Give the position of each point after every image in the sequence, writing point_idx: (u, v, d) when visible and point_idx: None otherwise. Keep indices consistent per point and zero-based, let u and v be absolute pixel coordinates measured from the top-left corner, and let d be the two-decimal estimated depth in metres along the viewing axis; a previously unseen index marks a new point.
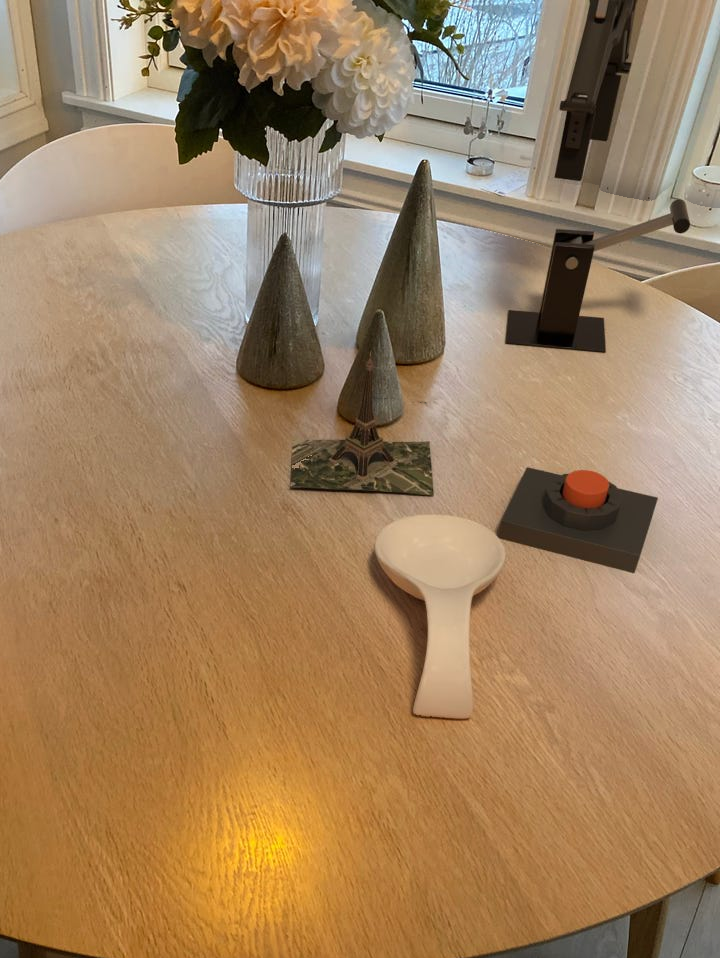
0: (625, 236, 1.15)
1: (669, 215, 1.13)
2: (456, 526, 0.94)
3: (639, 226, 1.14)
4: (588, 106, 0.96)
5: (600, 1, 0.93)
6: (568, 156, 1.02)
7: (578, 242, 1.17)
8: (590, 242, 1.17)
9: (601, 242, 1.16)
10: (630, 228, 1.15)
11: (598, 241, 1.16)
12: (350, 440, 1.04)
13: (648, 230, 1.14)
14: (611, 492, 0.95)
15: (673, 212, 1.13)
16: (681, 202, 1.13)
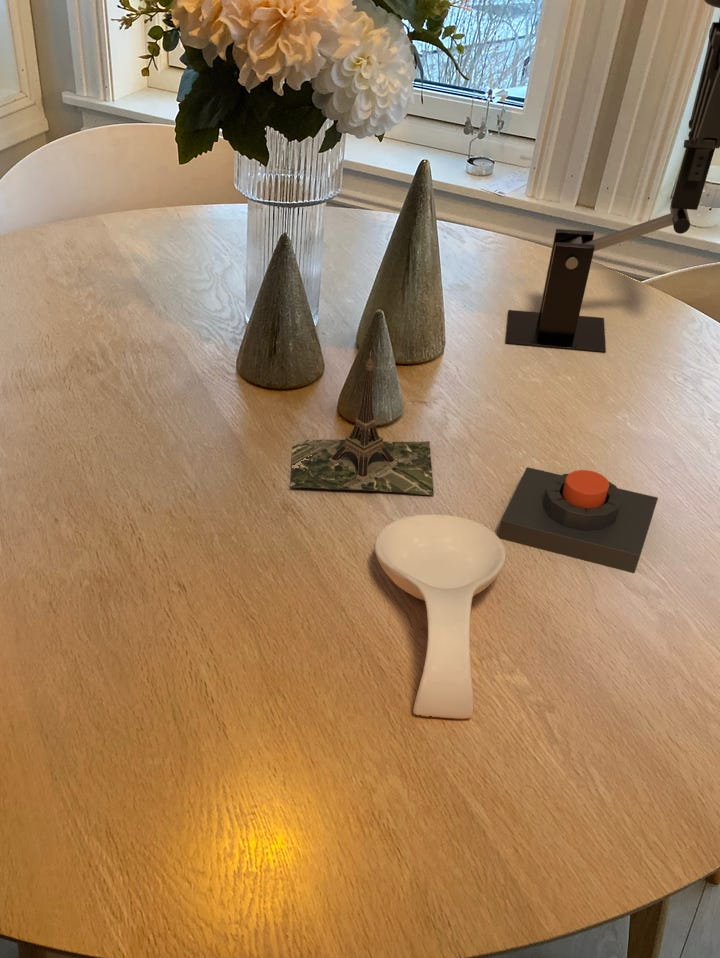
0: (625, 236, 1.15)
1: (669, 215, 1.13)
2: (456, 526, 0.94)
3: (639, 226, 1.14)
4: (717, 146, 1.04)
5: None
6: (686, 188, 1.10)
7: (578, 242, 1.17)
8: (590, 242, 1.17)
9: (601, 242, 1.16)
10: (630, 228, 1.15)
11: (598, 241, 1.16)
12: (350, 440, 1.04)
13: (648, 230, 1.14)
14: (611, 492, 0.95)
15: (673, 212, 1.13)
16: None
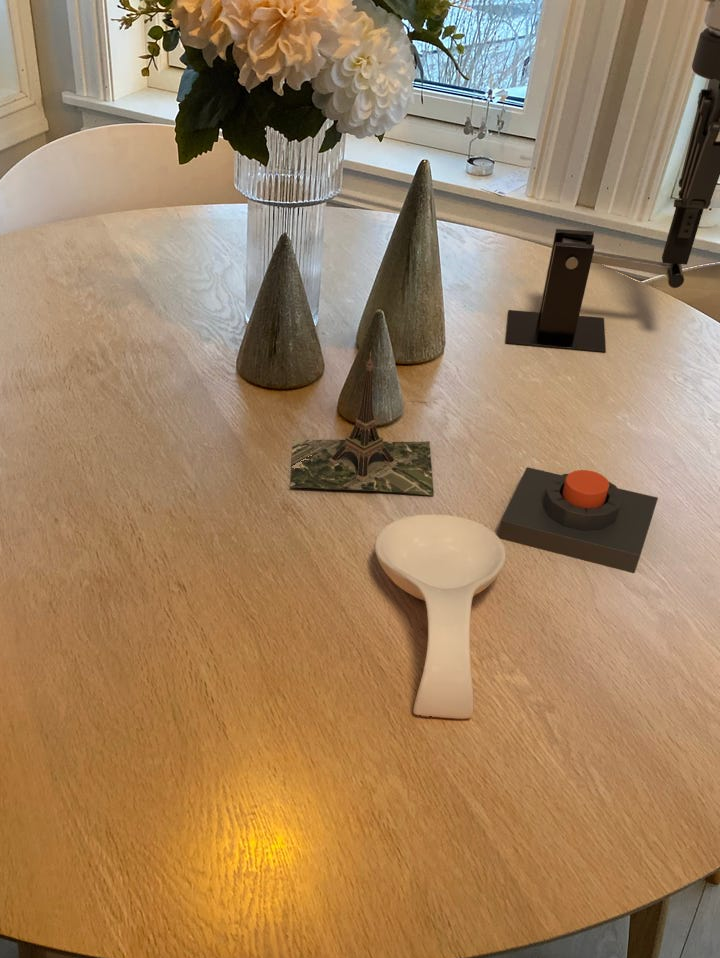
0: (623, 263, 1.17)
1: (667, 265, 1.17)
2: (456, 526, 0.94)
3: (639, 261, 1.17)
4: (706, 207, 1.08)
5: None
6: (676, 244, 1.14)
7: None
8: None
9: (601, 257, 1.17)
10: (630, 258, 1.17)
11: (600, 255, 1.17)
12: (350, 440, 1.04)
13: (644, 269, 1.17)
14: (611, 492, 0.95)
15: (671, 264, 1.17)
16: None
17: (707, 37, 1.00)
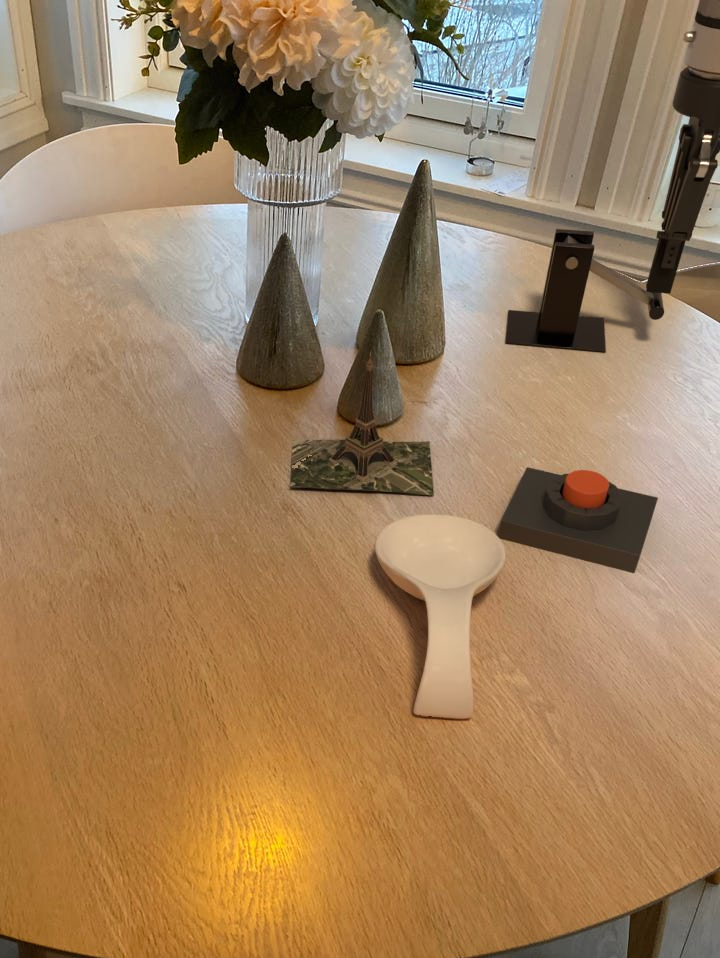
0: (614, 280, 1.19)
1: (651, 295, 1.19)
2: (456, 526, 0.94)
3: (628, 283, 1.19)
4: (688, 239, 1.11)
5: (700, 170, 1.04)
6: (660, 274, 1.17)
7: None
8: None
9: (597, 267, 1.18)
10: (621, 277, 1.19)
11: (596, 265, 1.18)
12: (350, 440, 1.04)
13: (630, 291, 1.19)
14: (611, 492, 0.95)
15: (654, 295, 1.19)
16: None
17: (686, 76, 1.02)
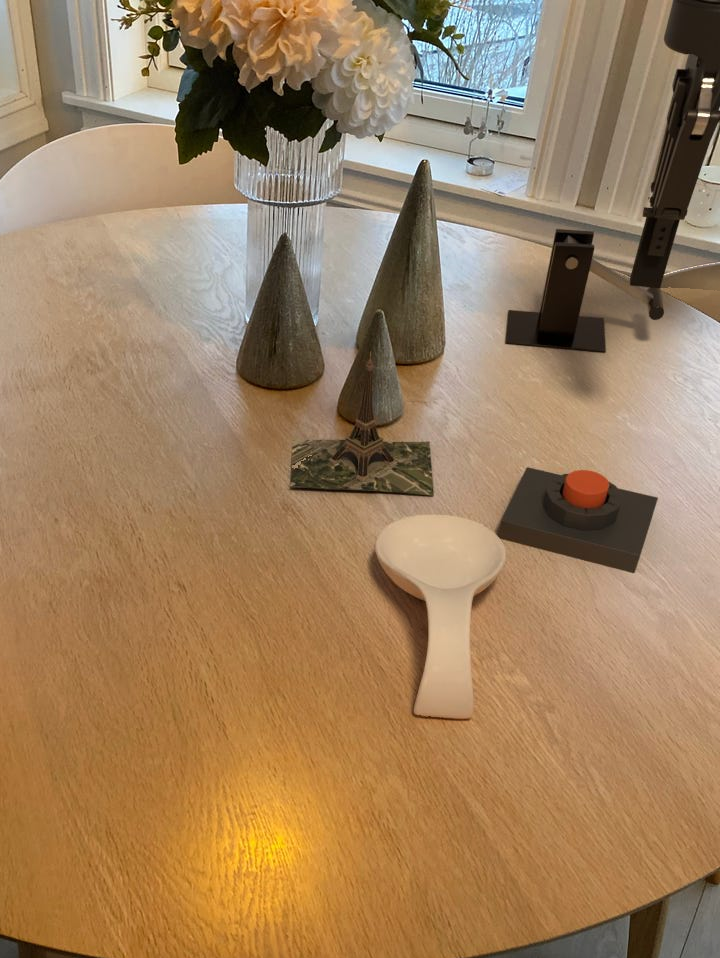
0: (614, 280, 1.19)
1: (650, 295, 1.19)
2: (457, 526, 0.94)
3: (628, 283, 1.19)
4: (682, 218, 0.86)
5: (697, 124, 0.79)
6: (647, 263, 0.92)
7: None
8: None
9: (597, 267, 1.18)
10: (621, 277, 1.19)
11: (596, 265, 1.18)
12: (350, 440, 1.04)
13: (630, 291, 1.19)
14: (611, 492, 0.95)
15: (654, 295, 1.19)
16: (660, 292, 1.21)
17: None
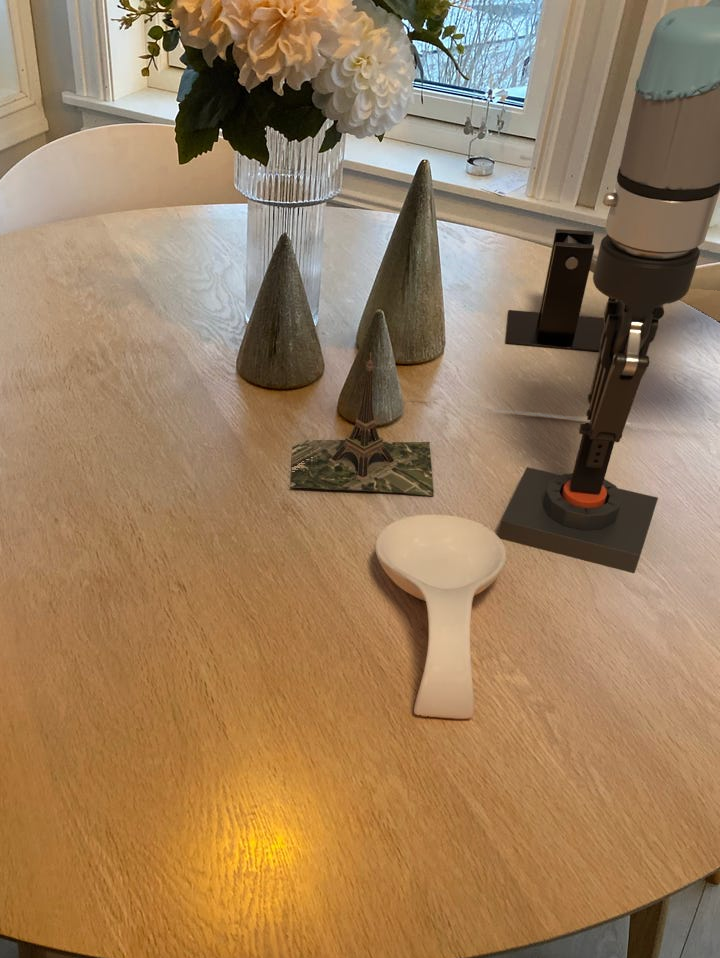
0: None
1: None
2: (457, 526, 0.94)
3: None
4: (617, 441, 0.87)
5: (626, 369, 0.79)
6: (586, 472, 0.93)
7: None
8: None
9: None
10: None
11: None
12: (350, 440, 1.04)
13: None
14: (611, 492, 0.95)
15: None
16: None
17: (608, 249, 0.78)
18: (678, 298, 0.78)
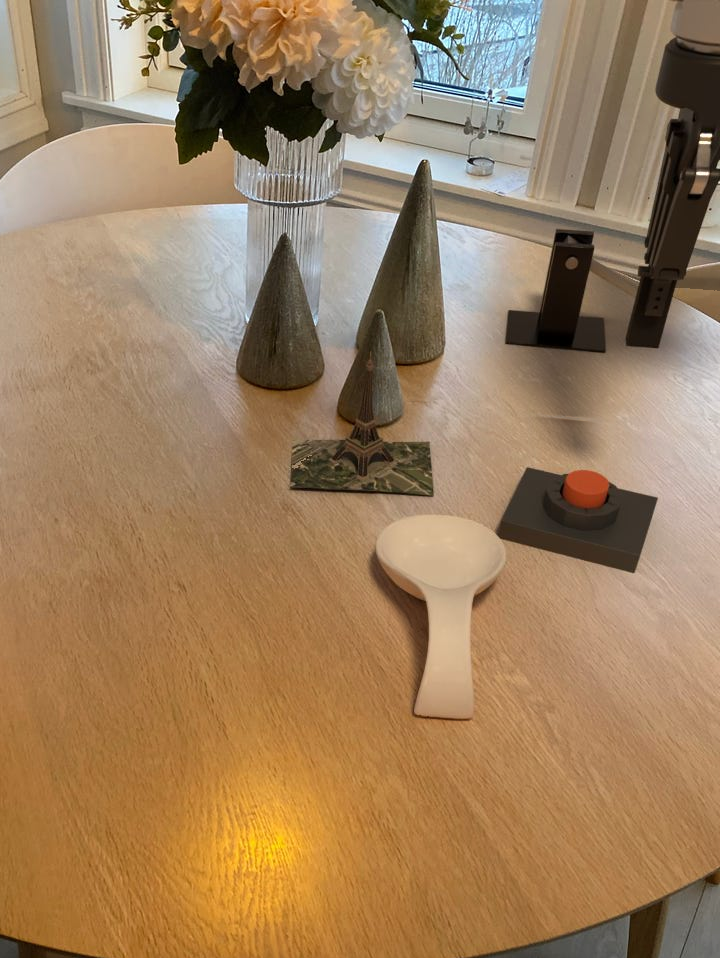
0: (614, 280, 1.19)
1: None
2: (457, 526, 0.94)
3: (628, 283, 1.19)
4: (681, 278, 0.80)
5: (696, 184, 0.73)
6: (644, 323, 0.86)
7: None
8: None
9: (597, 267, 1.18)
10: (621, 277, 1.19)
11: (596, 265, 1.18)
12: (350, 440, 1.04)
13: (630, 291, 1.19)
14: (611, 492, 0.95)
15: None
16: None
17: (674, 50, 0.71)
18: None
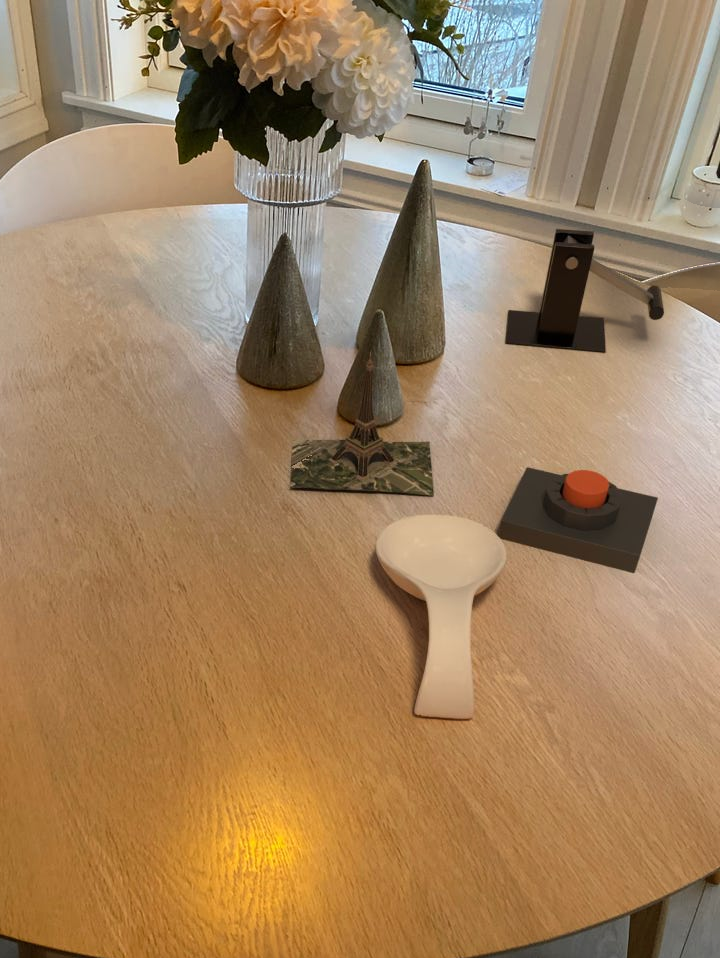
0: (614, 280, 1.19)
1: (650, 295, 1.19)
2: (457, 526, 0.94)
3: (628, 283, 1.19)
4: None
5: None
6: None
7: None
8: None
9: (597, 267, 1.18)
10: (621, 277, 1.19)
11: (596, 265, 1.18)
12: (350, 440, 1.04)
13: (630, 291, 1.19)
14: (611, 492, 0.95)
15: (654, 295, 1.19)
16: (660, 292, 1.21)
17: None
18: None
